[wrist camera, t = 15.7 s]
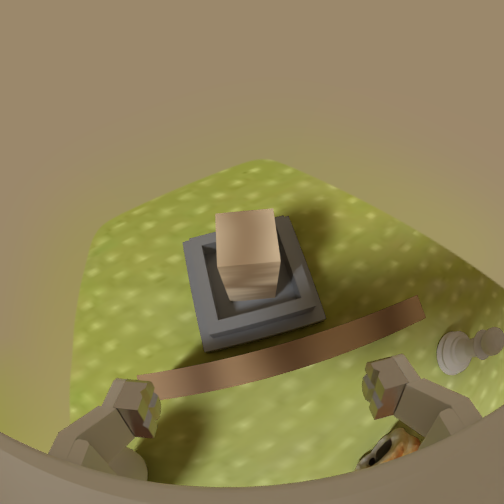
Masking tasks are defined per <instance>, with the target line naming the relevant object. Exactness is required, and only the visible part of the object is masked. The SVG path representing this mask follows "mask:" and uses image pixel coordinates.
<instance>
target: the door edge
mask: <svg viewBox="0 0 504 504" xmlns="http://www.w3.org/2000/svg"><path fill="white" fill-rule="evenodd" d="M424 318H426V317H425V314H424V311H423V309H422V306H421V303H420V301H419V298H418V296H417V295H416V296H414V297H411V298H409V299H407V300H404V301H402V302H400V303H397V304H395V305H392V306H390V307H387V308H385V309H382V310H380V311H377V312H375V313H372V314H370V315H367V316H364V317H362V318H359V319H356V320H354V321H351V322H348V323H345V324H342V325H340V326H337V327H334V328H331V329H328V330H325V331H322V332H319V333H316V334H313V335H310V336H306V337H303V338H300V339H297V340H293V341H290V342H287V343H283V344H280V345H276V346H273V347H269V348H266V349H262V350H258V351H254V352H251V353H247V354H243V355H239V356H235V357H230V358H226V359H222V360H218V361H213V362H209V363H204V364H199V365H194V366H189V367H184V368H179V369H174V370H168V371H163V372H157V373H150V374H144V375H137V379H138V380H143V381H151V382H152V383H153V385H154V387H155V389H154V393H156V394H157V395H158V396H159V399H160V400H163V399H170V398H176V397H182V396H188V395H194V394H199V393H205V392H210V391H215V390H219V389H224V388H229V387H233V386H237V385H242V384H246V383H250V382H254V381H258V380H261V379H265V378H269V377H272V376H276V375H280V374H283V373H286V372H290V371H293V370H296V369H300V368H303V367H306V366H309V365H312V364H315V363H318V362H321V361H324V360H327V359H330V358H332V357H335V356H338V355H341V354H343V353H346V352H349V351H351V350H354V349H357V348H359V347H362V346H364V345H367V344H369V343H371V342H374V341H376V340H379V339H381V338H383V337H386V336H388V335H390V334H392V333H395V332H397V331H399V330H401V329H403V328H406V327H408V326H410V325H412V324H414V323H416V322H418V321H420V320H422V319H424Z"/></svg>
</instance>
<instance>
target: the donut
mask: <svg viewBox="0 0 504 504" xmlns="http://www.w3.org/2000/svg"><path fill="white" fill-rule="evenodd" d="M108 465H109V466H110V467H111V468H112V469H113V470H114V471H115V472H116V474H117V475H118V476H122V477H127V478H132V479H138V480H144V481H147V477H148V470H147V466H146V463H145V461H144V459H143V458H142V457H141V456H140V455H139V454H138V453H136V452H135V451H134V450H132V449H130V448H128V447H125V448H124V449H123V450H122V451H121V452H120V453H119V454H118V455H117V456H116V457H115V458H114V459H113V460H112V461H111V462H110V463H109V464H108Z"/></svg>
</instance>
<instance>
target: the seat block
mask: <svg viewBox="0 0 504 504" xmlns="http://www.w3.org/2000/svg"><path fill="white" fill-rule="evenodd" d="M274 218H275V225H276V232H277V239H278V245H279V252H280V260H281V263H280V269H279V276H278V283H277V289H276V295H275V298H267V299H257V300H246V301H234V302H230V300H229V297H228V295H227V292H226V289H225V287H224V284H223V281H222V279H221V276H220V273H219V271H218V268H217V250H216V232H213V233H209V234H206V235H202V236H198V237H194V238H190V239H189V240H190V241H186V242H183V248H184V253H185V259H186V265H187V271H188V276H189V281H190V287H191V292H192V297H193V302H194V307H195V312H196V316H197V321H198V326H199V330H200V335H201V339H202V344H203V348H204V352H206V353H209V352H213V351H218V350H222V349H226V348H230V347H234V346H238V345H242V344H246V343H250V342H254V341H258V340H261V339H265V338H269V337H272V336H276V335H279V334H283V333H286V332H290V331H293V330H296V329H300V328H303V327H306V326H309V325H313V324H316V323H319V322H322V321H324V320H325V319H326V316H325V313H324V311H323V308H322V305H321V302H320V299H319V296H318V293H317V291H316V288H315V285H314V282H313V280H312V277H311V274H310V271H309V269H308V266H307V263H306V260H305V258H304V255H303V252H302V250H301V247H300V245H299V242H298V239H297V237H296V234H295V232H294V229H293V226H292V224H291V221H290V219H289V216H286V217H284V216H279V217H274Z"/></svg>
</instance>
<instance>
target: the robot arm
mask: <svg viewBox="0 0 504 504" xmlns="http://www.w3.org/2000/svg"><path fill="white" fill-rule="evenodd" d="M365 371H366V373H367V374H366V375H365V376H364V377H363V381H362V391H363V395H364V397H365V400H367V401H369V402H370V406H369V409H370V411H371V413H372V416H373V418H374V420H376V419H380V418H383V417H387V416H391V415H394V416H395V417H396V418H398V419H399V420H401V421H402V422H403V423H405V424H406V425H408V426H409V427H410V428H412V429H413V430H415V431H416V432H418V433H419V434H421V435H422V436H424V437H425V438H424V440H423V441H422V443H421V445H420V446H419V448H418V450H417V451H415V452H412V453H410V454H407V455H405V456H402V457H399V458H396V459H393V460H390V461H388V462H384V463H381V464H378V465H375V466H371V467H368V468H364V469H361V470H357V471H353V472H349V473H345V474H341V475H336V476H331V477H326V478H321V479H316V480H310V481H303V482H296V483H288V484H280V485H269V486H254V487H199V486H184V485H173V484H165V483H157V482H150V481H144V480H138V479H132V478H127V477H122V476H118V475H117V474H116V472H115V471H114V470H113V469H112V468H111V467H110V466H109V465H108V464H109V463H110V462H111V461H112V460H113V459H114V458H115V457H116V456H117V455H118V454H119V453H120V452H121V451H122V450H123V449H124V448H125V447H126V446H127V445H128V444H129V443H130V442H131V441H132V440H133V439H134V438H135V437H144V438H154V437H155V433H156V429H157V424H156V422H155V421H156V420H157V419H158V418H159V417H160V414H161V402H160V399H159V396H158V395H157V394H156V393H154V389H155V387H154V385H153V383H152V382H151V381H143V380H131V379H119V378H116V379H115V380H114V381H113V383H112V385H111V387H110V389H109V391H108V393H107V396H106V398H105V400H104V402H103V404H102V406H98V407H96V408H95V409H93V410H92V411H90V412H89V413H87V414H86V415H84V416H83V417H81V418H80V419H78V420H77V421H75V422H74V423H72V424H71V425H69V426H68V427H66V428H64V429H63V430H61V431H60V432H59V433H58V435H57V437H56V439H55V441H54V443H53V445H52V447H51V449H50V451H49V453H48V454H46V453H44V452H41V451H39V450H36V449H34V448H32V447H29V446H27V445H25V444H23V443H21V442H19V441H17V440H15V439H12V438H11V437H9V436H7V435H5V434H3V433H1V432H0V504H504V405H502V406H501V407H499V408H498V409H496V410H495V411H493V412H492V413H490V414H488V415H487V416H485V417H484V418H482V416H481V415H480V413H479V412H478V410H477V409H476V408H475V406H474V405H473V403H472V402H471V401H470V399H469V398H468V397H465V396H463V395H461V394H458V393H456V392H454V391H451V390H449V389H447V388H445V387H442V386H440V385H438V384H436V383H433V382H431V381H429V380H427V379H425V378H423V379H420V377H419V376H418V374H417V373H416V371H415V370H414V368H413V367H412V366H411V364H410V363H409V361H408V360H407V358H406V357H405V356H404V355H403V354H399V355H395V356H391V357H387V358H383V359H379V360H375V361H371V362H367V364H366V367H365Z"/></svg>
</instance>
